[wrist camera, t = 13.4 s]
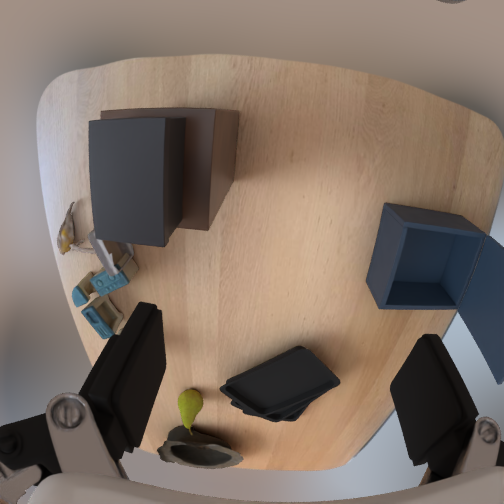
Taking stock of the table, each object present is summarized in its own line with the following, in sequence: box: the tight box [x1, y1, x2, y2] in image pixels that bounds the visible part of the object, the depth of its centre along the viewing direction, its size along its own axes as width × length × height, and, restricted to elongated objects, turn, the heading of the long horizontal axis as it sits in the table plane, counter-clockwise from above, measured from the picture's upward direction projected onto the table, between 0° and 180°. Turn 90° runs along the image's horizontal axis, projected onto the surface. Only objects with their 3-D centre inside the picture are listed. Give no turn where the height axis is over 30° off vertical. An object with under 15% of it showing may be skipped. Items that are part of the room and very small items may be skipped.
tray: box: [220, 346, 340, 422], centre depth 56 cm, size 30×23×5 cm
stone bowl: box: [157, 426, 244, 469], centre depth 70 cm, size 25×25×9 cm
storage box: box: [366, 203, 486, 310], centre depth 40 cm, size 16×14×8 cm
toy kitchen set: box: [72, 253, 139, 339], centre depth 47 cm, size 18×14×11 cm
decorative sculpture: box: [57, 202, 134, 276], centre depth 42 cm, size 16×10×7 cm, turn 87°
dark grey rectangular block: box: [89, 117, 186, 247], centre depth 20 cm, size 9×6×5 cm, turn 175°
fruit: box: [178, 389, 203, 436], centre depth 57 cm, size 6×6×12 cm
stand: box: [101, 108, 240, 231], centre depth 30 cm, size 10×10×18 cm
